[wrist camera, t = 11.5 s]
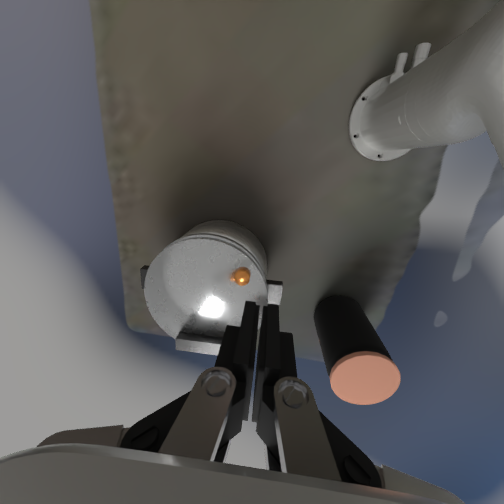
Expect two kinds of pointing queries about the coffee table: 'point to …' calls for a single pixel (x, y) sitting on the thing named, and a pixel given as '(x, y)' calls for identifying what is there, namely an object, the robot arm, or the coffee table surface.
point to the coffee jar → (354, 353)
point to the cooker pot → (240, 239)
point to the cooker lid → (202, 291)
